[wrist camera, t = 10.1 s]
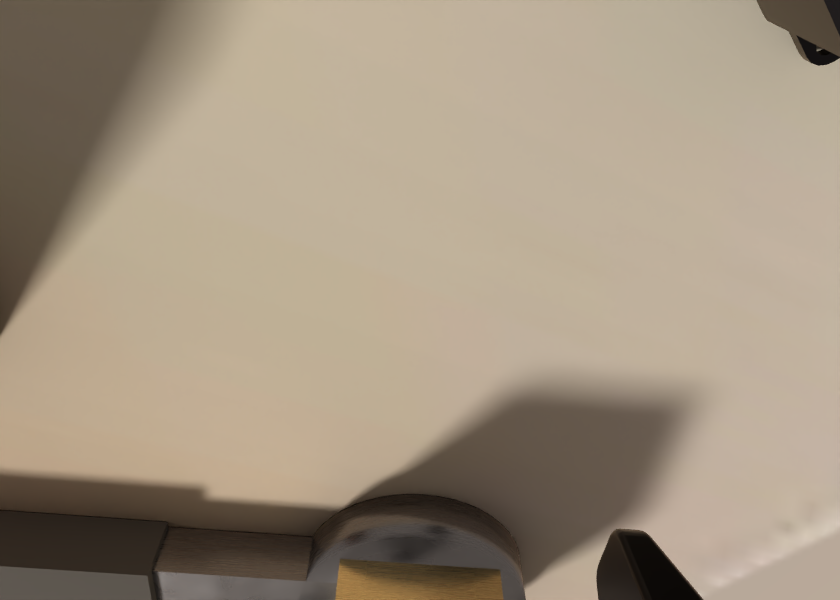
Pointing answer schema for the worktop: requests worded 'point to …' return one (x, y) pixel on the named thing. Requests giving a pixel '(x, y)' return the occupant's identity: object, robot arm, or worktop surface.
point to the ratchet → (242, 553)
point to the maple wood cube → (415, 582)
